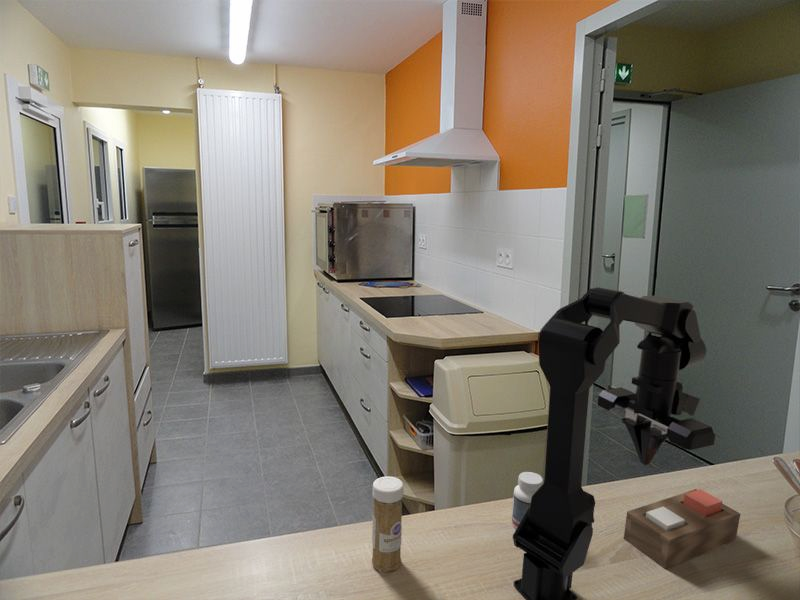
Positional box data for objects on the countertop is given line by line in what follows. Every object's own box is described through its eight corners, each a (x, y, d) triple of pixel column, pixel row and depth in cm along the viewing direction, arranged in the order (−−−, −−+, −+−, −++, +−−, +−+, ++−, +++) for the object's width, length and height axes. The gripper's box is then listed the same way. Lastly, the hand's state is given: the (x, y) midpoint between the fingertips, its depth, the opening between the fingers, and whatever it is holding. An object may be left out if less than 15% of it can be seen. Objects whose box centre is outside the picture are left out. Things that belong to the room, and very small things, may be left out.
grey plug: (663, 554, 86) (667, 526, 85) (642, 539, 90) (646, 512, 89) (680, 547, 88) (684, 519, 87) (659, 533, 91) (663, 506, 90)
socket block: (665, 569, 84) (669, 540, 83) (623, 538, 91) (627, 511, 90) (735, 540, 91) (740, 513, 90) (692, 514, 98) (696, 489, 97)
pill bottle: (543, 536, 91) (547, 488, 89) (511, 532, 92) (515, 484, 90) (541, 518, 96) (546, 471, 94) (511, 513, 97) (514, 468, 95)
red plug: (702, 534, 90) (706, 506, 89) (680, 520, 93) (684, 494, 92) (717, 528, 92) (722, 501, 91) (696, 515, 95) (700, 489, 94)
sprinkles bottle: (391, 577, 80) (393, 494, 78) (365, 566, 83) (366, 485, 80) (406, 559, 84) (409, 480, 81) (381, 549, 86) (383, 471, 84)
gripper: (746, 389, 83) (729, 482, 86) (646, 354, 100) (635, 433, 103) (696, 397, 79) (680, 496, 82) (600, 359, 95) (590, 442, 98)
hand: (645, 463), depth 91 cm, fingers closed
